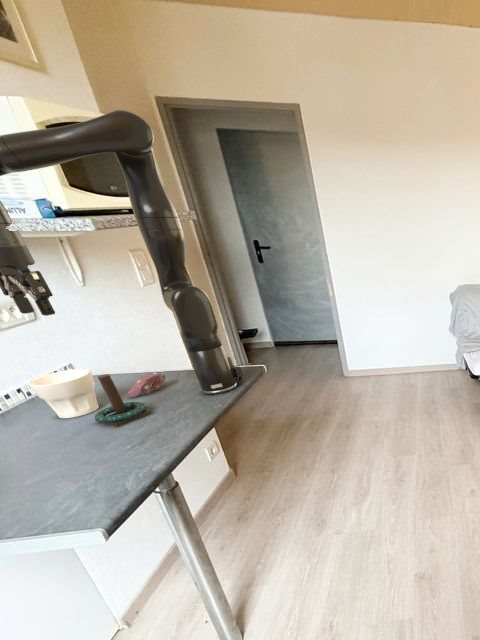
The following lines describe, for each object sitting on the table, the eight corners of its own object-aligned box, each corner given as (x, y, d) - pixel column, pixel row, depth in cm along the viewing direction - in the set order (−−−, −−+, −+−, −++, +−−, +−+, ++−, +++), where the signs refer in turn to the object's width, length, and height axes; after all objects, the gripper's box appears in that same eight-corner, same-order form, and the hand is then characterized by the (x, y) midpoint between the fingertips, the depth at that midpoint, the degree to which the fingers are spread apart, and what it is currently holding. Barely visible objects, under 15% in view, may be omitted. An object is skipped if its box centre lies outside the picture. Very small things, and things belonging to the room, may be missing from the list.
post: (131, 410, 121) (111, 369, 115) (150, 413, 119) (130, 371, 113) (98, 422, 114) (75, 379, 109) (117, 426, 112) (95, 383, 106)
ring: (130, 404, 122) (127, 399, 122) (156, 408, 120) (153, 403, 119) (86, 421, 113) (83, 415, 112) (114, 425, 110) (110, 420, 110)
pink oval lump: (141, 402, 129) (143, 384, 126) (126, 396, 128) (127, 378, 126) (167, 389, 138) (169, 372, 135) (153, 384, 137) (154, 366, 135)
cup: (94, 417, 117) (75, 381, 113) (37, 425, 113) (14, 388, 109) (116, 399, 128) (99, 366, 123) (64, 406, 124) (45, 372, 119)
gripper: (41, 243, 97) (75, 312, 104) (5, 242, 101) (40, 308, 108) (-4, 247, 91) (36, 319, 98) (-41, 245, 95) (0, 315, 102)
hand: (38, 313), depth 103 cm, fingers open, 8 cm apart
